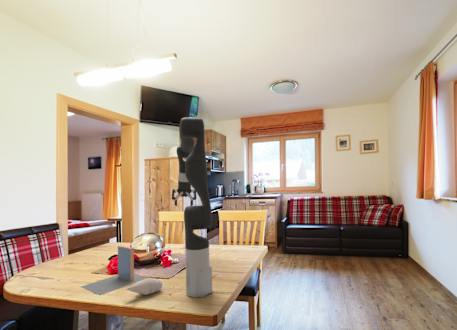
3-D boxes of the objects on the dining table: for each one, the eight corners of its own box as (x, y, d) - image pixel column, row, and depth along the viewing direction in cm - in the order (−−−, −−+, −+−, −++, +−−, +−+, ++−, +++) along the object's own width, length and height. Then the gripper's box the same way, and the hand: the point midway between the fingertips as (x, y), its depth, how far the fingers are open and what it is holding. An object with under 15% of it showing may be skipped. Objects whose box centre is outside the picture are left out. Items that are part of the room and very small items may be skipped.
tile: (133, 280, 117) (133, 247, 118) (130, 281, 116) (130, 248, 117) (121, 276, 123) (121, 245, 124) (117, 277, 122) (117, 246, 123)
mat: (148, 278, 120) (148, 277, 120) (99, 296, 102) (99, 295, 102) (127, 272, 129) (127, 271, 129) (80, 287, 112) (80, 286, 112)
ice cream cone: (122, 301, 97) (159, 295, 107) (129, 293, 94) (166, 288, 104) (120, 285, 100) (156, 281, 110) (127, 277, 98) (163, 273, 108)
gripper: (172, 181, 150) (171, 208, 153) (197, 181, 153) (196, 208, 156) (172, 177, 157) (171, 203, 160) (196, 178, 160) (195, 204, 163)
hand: (183, 206), depth 158 cm, fingers open, 8 cm apart
